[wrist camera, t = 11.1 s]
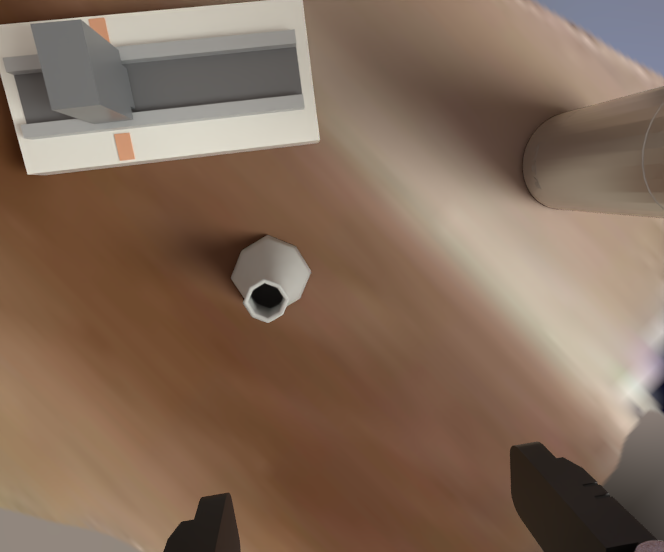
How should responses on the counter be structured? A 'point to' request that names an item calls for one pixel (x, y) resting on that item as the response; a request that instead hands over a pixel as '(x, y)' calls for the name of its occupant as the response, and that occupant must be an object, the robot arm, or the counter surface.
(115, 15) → the fader console
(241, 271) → the flask
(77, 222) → the counter surface
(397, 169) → the counter surface
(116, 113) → the fader tab
